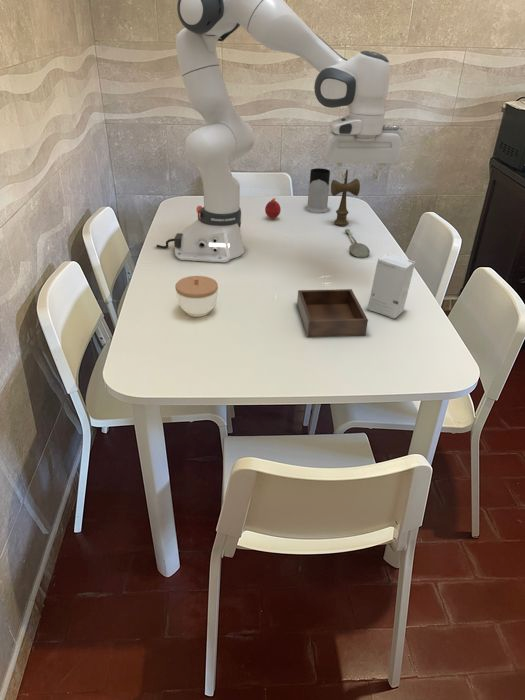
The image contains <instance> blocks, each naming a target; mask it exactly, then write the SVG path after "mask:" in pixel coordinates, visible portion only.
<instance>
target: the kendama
mask: <svg viewBox="0 0 525 700" xmlns="http://www.w3.org/2000/svg"><path fill="white" fill-rule="evenodd" d="M348 176H349V170H348V169H346V170H345V177H344V178H345V180H343V183H342V182H340V181H339V180H336V179H333V180H332V181H331V183H330V194H331V195H332V196H333V197H336V196H337V195H339V194H340V193H342V194H341V199H340V202H339V206H338V209H337V210H335V213H336V219H334V221H333V223H334V224H335V225H337V226H341V227H342V226H347V225H348V224H349V221H348V219H347V218H348V217H347V216H348V214H349V210H348V209H347V193H350V194H352V196H355V197H358V196H359V194H360V190H361V182H360V180H359V179H358V178H354V179H353V180H351V181H350V182H348Z"/></svg>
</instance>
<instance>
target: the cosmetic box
mask: <svg viewBox="0 0 525 700" xmlns="http://www.w3.org/2000/svg"><path fill="white" fill-rule="evenodd" d="M415 265H416V261H414V260H411V259H408V258H406V257H403V256H400V255H395V254H391V253H389V252H386V253H384V254H383V255H382V256H380V257H379V258H377V262H376V266H375V272H374V277H373V282H372V287H371V291H370V296H369V301H368V305H367V310H368V311H370V312H374V313H377V314H380V315H382V316H386V317H388V318H391V319H393V320H395V319H396V318H397V317H399V316H400V315H401V314H402V313H403V312H404V309H405V306H406V302H407V297H408V294H409V289H410V287H411V286H410V285H411V282H412V278H413V273H414V269H415Z"/></svg>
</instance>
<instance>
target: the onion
mask: <svg viewBox="0 0 525 700" xmlns="http://www.w3.org/2000/svg"><path fill="white" fill-rule="evenodd" d="M281 211H282V208H281V205H280V203H279V202H278V201H276V198H274V197H273V198H271V199H270V200H269V202H267V203H266V205H265V208H264V212H265V215H266V216H267V217H268V218H269V219H271V220H275V219H276V218H277V217H279V216H280V214H281Z"/></svg>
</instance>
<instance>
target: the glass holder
mask: <svg viewBox="0 0 525 700" xmlns="http://www.w3.org/2000/svg"><path fill="white" fill-rule="evenodd" d="M309 173H310V174H309V182H308V193H307V194H308V195H307V196H308V197H307V205H306V208H305V210H306V211H307V212H310V213H315V214H323V213H327V212H329V208H328V202H329V193H330V176H331V170H330V169H327V168H322V167H321V168H319V167H318V168H311V169H310V172H309Z"/></svg>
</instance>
